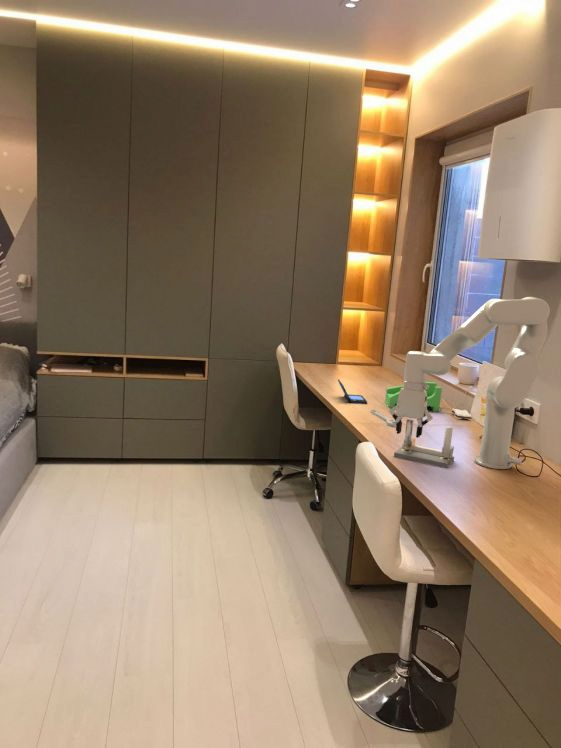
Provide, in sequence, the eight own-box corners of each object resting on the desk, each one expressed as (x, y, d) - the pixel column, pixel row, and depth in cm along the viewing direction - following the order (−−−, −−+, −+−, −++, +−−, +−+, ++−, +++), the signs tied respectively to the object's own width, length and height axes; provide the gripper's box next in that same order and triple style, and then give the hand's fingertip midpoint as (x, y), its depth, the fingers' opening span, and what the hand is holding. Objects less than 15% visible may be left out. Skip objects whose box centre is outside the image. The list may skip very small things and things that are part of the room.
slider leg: (414, 447, 230) (417, 418, 228) (409, 451, 224) (413, 421, 223) (406, 445, 231) (409, 416, 229) (401, 449, 226) (405, 419, 224)
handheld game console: (367, 404, 305) (369, 386, 303) (340, 403, 304) (341, 384, 303) (361, 397, 320) (363, 380, 319) (335, 396, 320) (337, 378, 318)
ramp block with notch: (432, 406, 313) (435, 382, 311) (438, 412, 300) (441, 387, 298) (384, 402, 313) (387, 379, 311) (388, 408, 300) (391, 384, 298)
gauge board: (453, 460, 224) (458, 425, 221) (447, 467, 215) (451, 431, 213) (402, 450, 232) (405, 416, 230) (393, 456, 224) (397, 421, 221)
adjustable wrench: (369, 413, 289) (369, 409, 289) (382, 413, 291) (382, 409, 290) (389, 427, 265) (389, 423, 265) (403, 427, 267) (403, 423, 266)
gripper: (440, 388, 221) (434, 437, 225) (393, 381, 229) (388, 428, 232) (435, 391, 215) (429, 441, 218) (387, 383, 223) (381, 432, 226)
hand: (408, 434), depth 225 cm, fingers open, 6 cm apart
